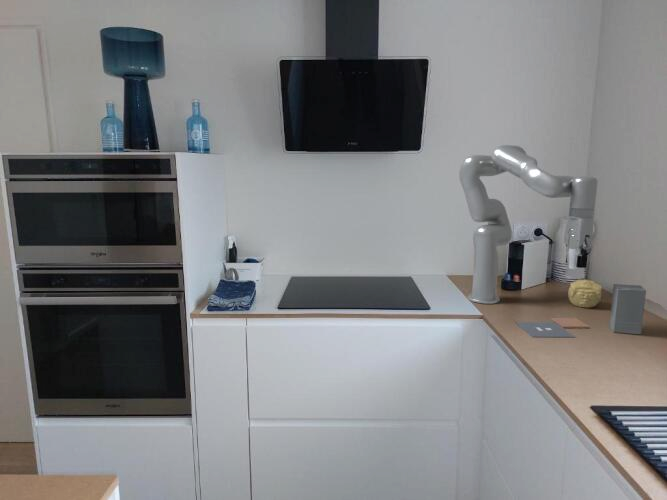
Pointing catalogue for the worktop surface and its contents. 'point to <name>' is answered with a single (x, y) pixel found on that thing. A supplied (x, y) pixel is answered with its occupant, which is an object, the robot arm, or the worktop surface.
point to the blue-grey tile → (544, 329)
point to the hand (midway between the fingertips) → (575, 264)
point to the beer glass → (573, 260)
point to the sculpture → (584, 293)
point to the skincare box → (627, 308)
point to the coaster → (569, 323)
